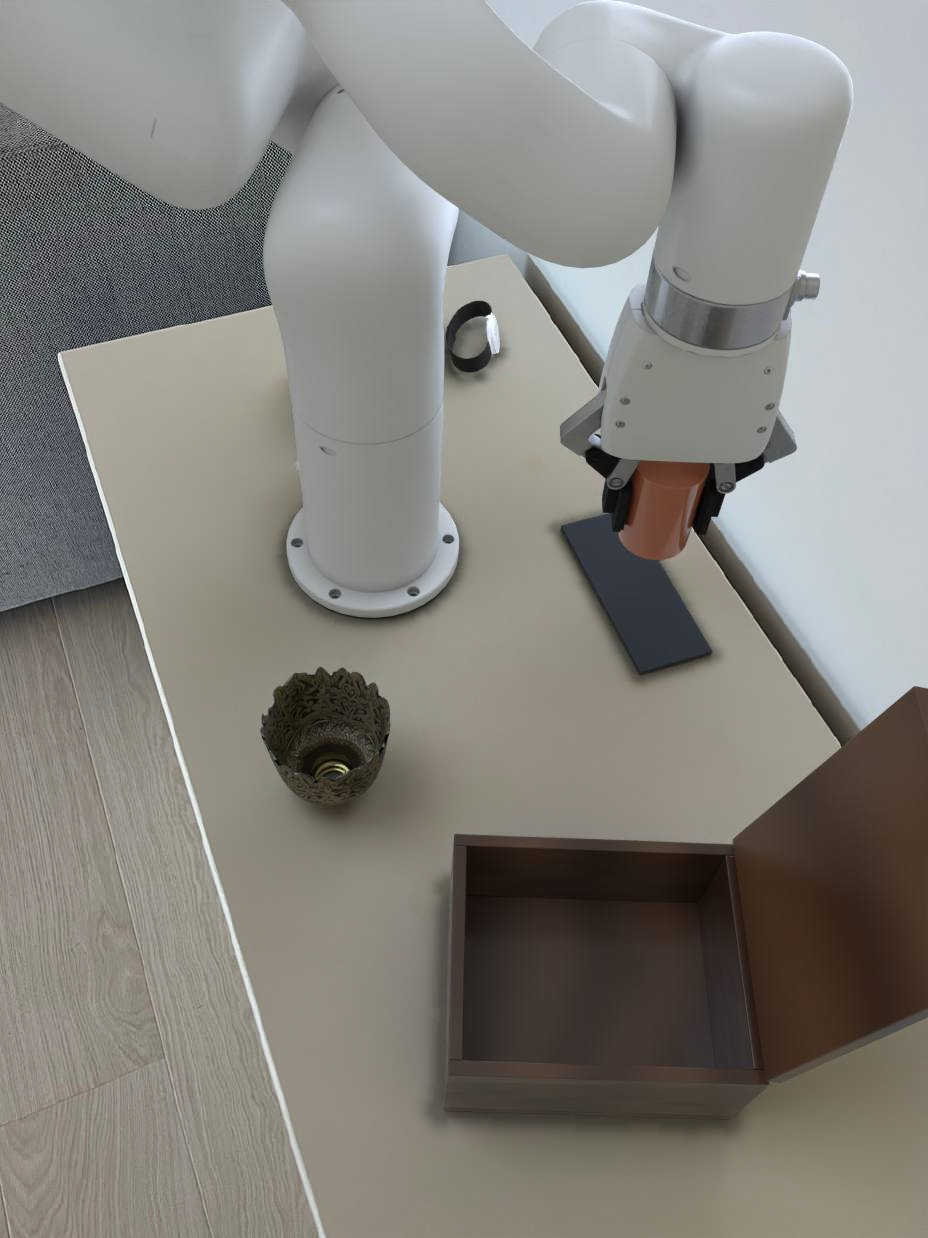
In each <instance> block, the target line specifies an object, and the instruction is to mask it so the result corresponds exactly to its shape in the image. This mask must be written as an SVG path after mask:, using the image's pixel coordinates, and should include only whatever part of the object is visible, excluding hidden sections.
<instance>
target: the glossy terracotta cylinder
mask: <svg viewBox="0 0 928 1238" xmlns="http://www.w3.org/2000/svg"><path fill="white" fill-rule="evenodd" d="M709 470H710V463H695V462H669V461H647V460H641V461H640V463H639V464H638V466H637V467H636V469H635V471H634V472H633V474H632V475H631V477H630V479H631V486H632V496H631V500H630V505H629V509H628V513H627V518H626V522H625V526H624V530H621V532H618V536H619V539H620V541H621V542H622V544H623V545H624V546H625V547H626V549H628V550H629V551H630V552H632V553H633V554H635V555H637V556H639V557H641V558H645V559H649V560H659V561H665V560H669V559H672V558H674V557H677V556H678V555H679V554H681V552H683V551H684V549H685V548H686V546H687V544H688V540H689V537H690V534H691V531H692V527H693V522H694V518H695V515H696V512H697V509H698V505H699V502H700V499H701V496H702V492H703V489H704V486H705V483H706V480H707V476H708V473H709Z"/></svg>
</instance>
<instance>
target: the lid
mask: <svg viewBox="0 0 928 1238" xmlns="http://www.w3.org/2000/svg"><path fill="white" fill-rule="evenodd" d="M732 844H733V847H734V854H735V861H736V868H737V876H738V883H739V890H740V897H741V905H742V912H743V919H744V926H745V934H746V941H747V948H748V955H749V963H750V970H751V977H752V984H753V992H754V999H755V1006H756V1013H757V1021H758V1028H759V1035H760V1042H761V1050H762V1057H763V1064H764V1071H765V1079H766V1081H767V1082H770V1083H774V1084H781V1083H783V1082H787V1081H788V1080H790V1079H793V1078H795V1077H797V1076H799V1075H802V1074H804V1073H806V1072H808V1071H810V1070H813V1069H815V1068H817V1067H820V1066H822V1065H824V1064H827V1063H828V1062H831V1061H833V1060H835V1059H838V1058H840V1057H842V1056H844V1055H846V1054H849V1053H851V1052H853V1051H856V1050H858V1049H860V1048H863V1047H865V1046H867V1045H870V1044H872V1043H874V1042H876V1041H878V1040H881V1039H883V1038H885V1037H888V1036H890V1035H892V1034H895V1033H896V1032H899V1031H901V1030H904V1029H906V1028H908V1027H910V1026H912V1025H915V1024H917V1023H920V1022H921V1021H923V1020H925V1019H928V688H927V687H923V686H918V685H914V686H912V687H911V688H910V689H908V690H907V691H906V692H905V693H904V694H903V695H902V696H901V697H899V698H897V700H896V701H895V702H893V703H892V704H891V705H890V706H889V707H887V708H886V709H885V710H884V711H882V712H881V713H880V714H879V715H878V716H877V717H875V718H874V719H873V720H872V721H870V723H868V724H867V725H866V726H865V727H863V729H861V730H860V731H859V732H858V733H857V734H855V735H854V736H853V737H852V738H851V739H849V740H848V741H847V742H846V743H845V744H843V745H842V746H841V747H840V748H839V749H837V750H836V751H835V752H834V753H833V754H832V755H831V756H829V757H828V758H827V759H826V760H825V761H823V762H822V763H820V765H819V766H817V767H816V768H815V769H814V770H812V772H810V773H809V774H808V775H807V776H806V777H804V778H803V779H802V780H800V782H799V783H797V784H796V785H795V786H794V787H793V788H791V789H790V790H789V791H788V792H786V793H785V794H784V795H783V796H782V797H780V799H778V800H777V801H776V802H775V803H774V804H773V805H771V806H770V807H768V809H767V810H765V811H764V812H763V813H762V814H761V815H759V816H758V817H756V819H755V820H754V821H753V820H752V822H751V823H750V824H748V825H747V826H746V827H745V828H744V829H743V830H742V831H740V832H739V833H738V834H737V835H736V836H735V837H733V838H732Z"/></svg>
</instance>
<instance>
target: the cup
mask: <svg viewBox="0 0 928 1238" xmlns="http://www.w3.org/2000/svg"><path fill="white" fill-rule="evenodd" d="M272 697H273V703H272V704H271V706H269V707H268V709H267V714H266V715H265V714H264V713H262V714H261V723H262V725H261V727H259V731H260V732H259V733H260V736H261V739H262V742H263V743H264V745H265V747H266V750H267V752H268V754H269V757H270V759H271V761H272V763H273V765H274V767H275V769H276V771H277V773H278V775H279V776H280V778H281V780H282V782H283V783H284V785H286V787H287V788H288V789H289V790H290V791H291V792H292V794H294V795H295V796H297V797H298V798H300V799H301V800H304V801H305V802H308V803H311V804H314V805H317V806H324V807H331V806H333V807H334V806H339V805H340V806H341V805H344V804H348V803H351V802H352V801H353V800H355V799H357V798H359V797H360V796H362V795H363V794H365V793H366V791H368V789H370V788H371V786H372V785H373V784H374V782H375V781H376V779H377V777H378V776H379V773H380V771H381V769H382V766H383V763H384V759H385V755H386V752H387V751H386V750H387V747H388V741H389V736H390V732H391V726H392V723H391V706H390V703H389V700H388V699H387V698H385V697H384V696H382V695H380V693H379V687H378V685H377V683H376V682H375V681H373V682H370V683H369V684H368V685H367V681H366V680H365V677H364V676H363V674H361V673H360V672H359V671H351V672H350V671H348V670H347V668H346V667H340V668H339V669H337V670H336V671H333V672H332V674H330V672H328V670H327V669H325V668H324V667H322V666H318V668H317V669H316V671H315V672H314V673H311V674H309V673H308V672H306V671H305V672H294V673H293V674H292V675H290V676H289V678H288V679H287V681H285V682H284V684H283V685H278V686H276V687H275V688H274V689H273V692H272ZM331 772H336V773H339V775H338V776H336V777H332V776H325V775H327V774H328V773H331Z"/></svg>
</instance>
